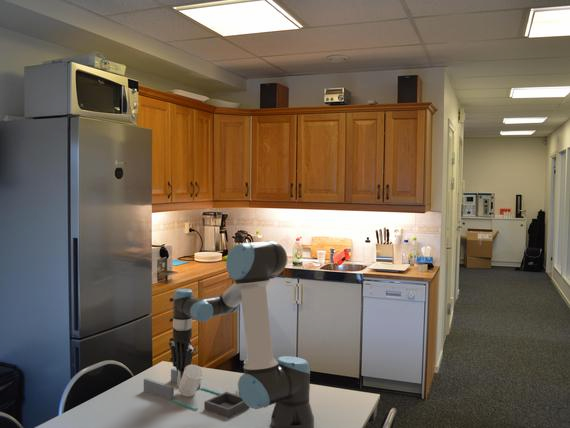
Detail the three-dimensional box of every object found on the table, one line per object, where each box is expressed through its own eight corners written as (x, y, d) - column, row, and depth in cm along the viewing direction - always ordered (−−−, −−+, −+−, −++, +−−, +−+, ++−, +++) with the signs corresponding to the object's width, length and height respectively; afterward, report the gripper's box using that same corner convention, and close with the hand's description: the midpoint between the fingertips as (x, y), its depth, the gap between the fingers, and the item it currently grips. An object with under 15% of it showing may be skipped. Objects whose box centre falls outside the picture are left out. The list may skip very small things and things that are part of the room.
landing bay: (226, 396, 209) (226, 394, 209) (195, 410, 196) (195, 408, 196) (203, 388, 217) (203, 387, 217) (171, 401, 203) (171, 400, 203)
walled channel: (200, 388, 217) (200, 376, 217) (170, 400, 204) (170, 388, 204) (173, 379, 226) (173, 368, 226) (143, 391, 213) (143, 378, 213)
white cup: (176, 382, 212) (183, 363, 209) (194, 384, 215) (202, 365, 212) (178, 397, 205) (185, 377, 202) (197, 398, 209) (205, 379, 205)
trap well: (249, 406, 199) (249, 399, 199) (228, 417, 189) (228, 409, 189) (226, 399, 206) (226, 391, 206) (204, 409, 196) (204, 401, 196)
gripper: (200, 329, 210) (199, 386, 212) (178, 322, 217) (176, 378, 219) (186, 333, 204) (185, 392, 206) (164, 326, 211) (162, 383, 213)
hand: (180, 385), depth 213 cm, fingers closed
